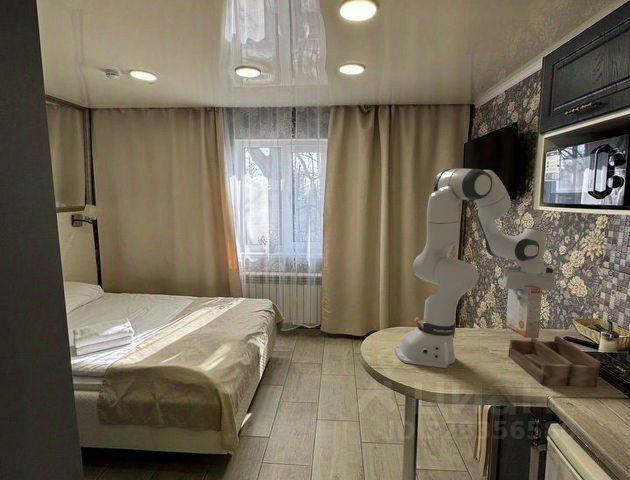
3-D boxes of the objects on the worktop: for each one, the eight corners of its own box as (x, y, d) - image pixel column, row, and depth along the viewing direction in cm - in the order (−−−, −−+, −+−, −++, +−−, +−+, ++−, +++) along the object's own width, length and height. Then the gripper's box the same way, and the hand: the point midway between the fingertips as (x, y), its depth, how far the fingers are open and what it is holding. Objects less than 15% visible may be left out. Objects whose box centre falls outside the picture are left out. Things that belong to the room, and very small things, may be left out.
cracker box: (539, 338, 140) (543, 287, 138) (525, 338, 139) (528, 287, 138) (518, 327, 154) (521, 280, 152) (505, 326, 153) (508, 280, 152)
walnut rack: (541, 388, 113) (545, 359, 112) (507, 359, 133) (510, 334, 131) (595, 390, 113) (600, 361, 112) (554, 361, 133) (557, 336, 131)
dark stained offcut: (541, 371, 118) (542, 365, 118) (522, 359, 126) (523, 354, 126) (551, 369, 119) (552, 364, 119) (532, 358, 127) (532, 353, 127)
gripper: (509, 267, 139) (505, 300, 141) (559, 269, 139) (555, 302, 141) (501, 264, 145) (497, 296, 147) (549, 266, 145) (545, 298, 147)
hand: (526, 299), depth 144 cm, fingers closed on cracker box, 6 cm apart
